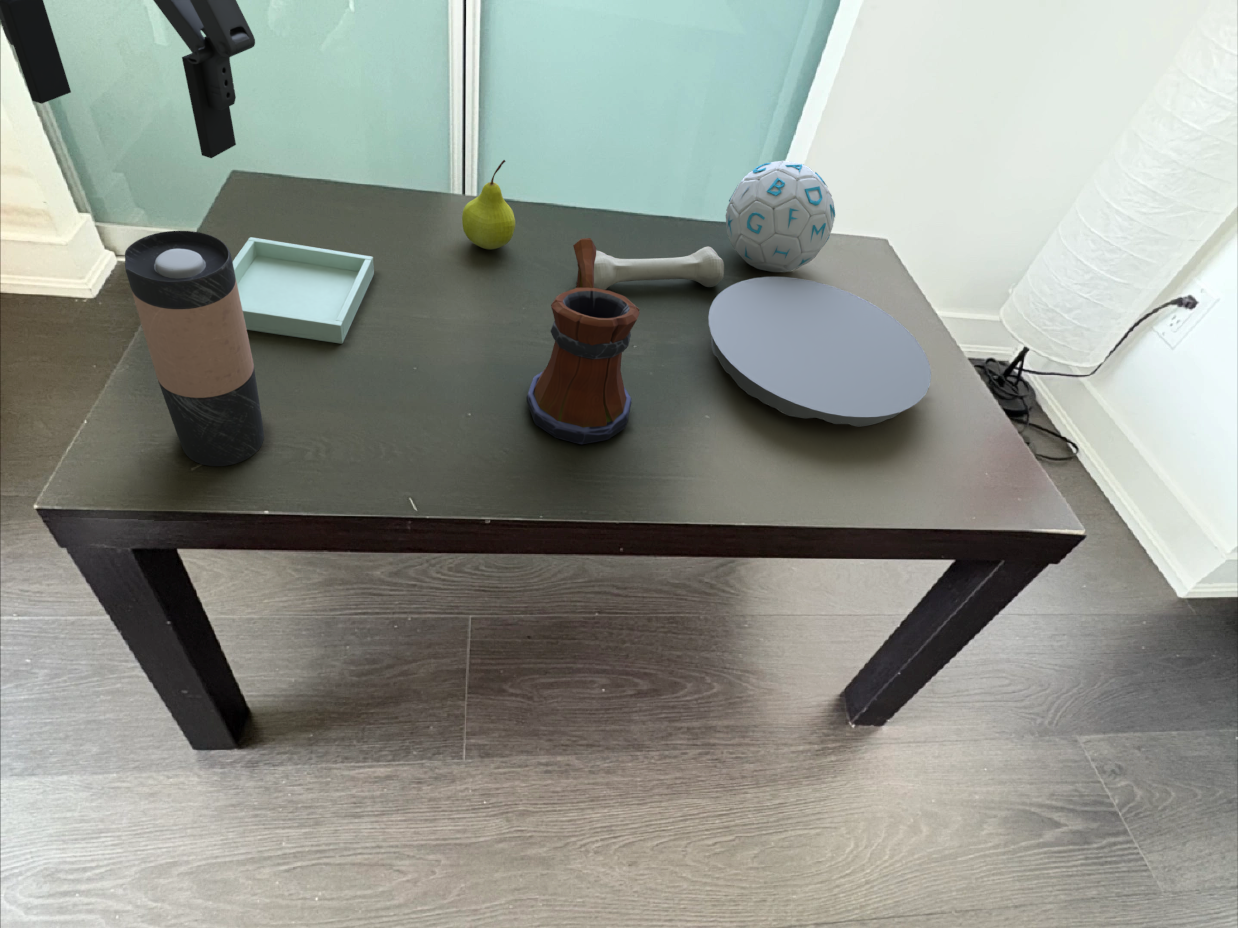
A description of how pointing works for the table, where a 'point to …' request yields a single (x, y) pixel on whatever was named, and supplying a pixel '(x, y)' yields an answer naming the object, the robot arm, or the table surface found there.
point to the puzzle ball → (780, 216)
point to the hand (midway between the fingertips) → (134, 123)
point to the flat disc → (817, 351)
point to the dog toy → (659, 268)
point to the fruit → (489, 218)
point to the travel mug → (198, 343)
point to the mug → (585, 360)
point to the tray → (300, 288)
